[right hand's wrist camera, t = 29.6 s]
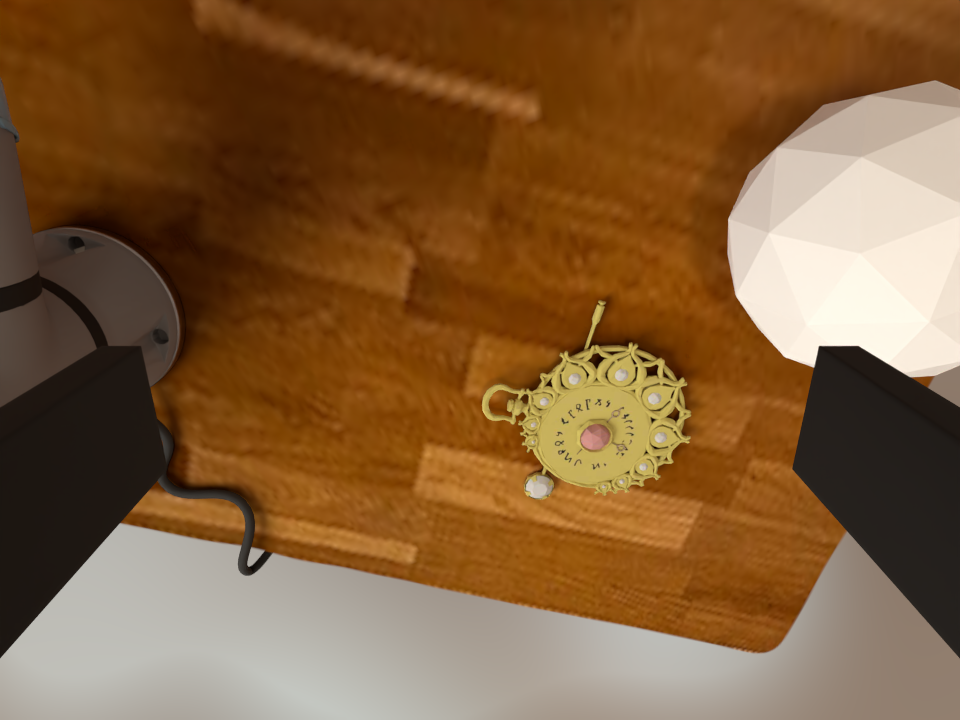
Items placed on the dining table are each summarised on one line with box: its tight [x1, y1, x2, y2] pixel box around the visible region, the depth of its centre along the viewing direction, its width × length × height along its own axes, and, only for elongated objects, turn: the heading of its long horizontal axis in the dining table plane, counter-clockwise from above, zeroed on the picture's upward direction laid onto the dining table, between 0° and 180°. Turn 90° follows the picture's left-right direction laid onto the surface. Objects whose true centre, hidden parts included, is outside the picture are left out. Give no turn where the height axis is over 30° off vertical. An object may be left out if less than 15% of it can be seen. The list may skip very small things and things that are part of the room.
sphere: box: [728, 80, 960, 377], centre depth 42 cm, size 19×20×20 cm
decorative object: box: [482, 300, 691, 499], centre depth 56 cm, size 21×2×20 cm
